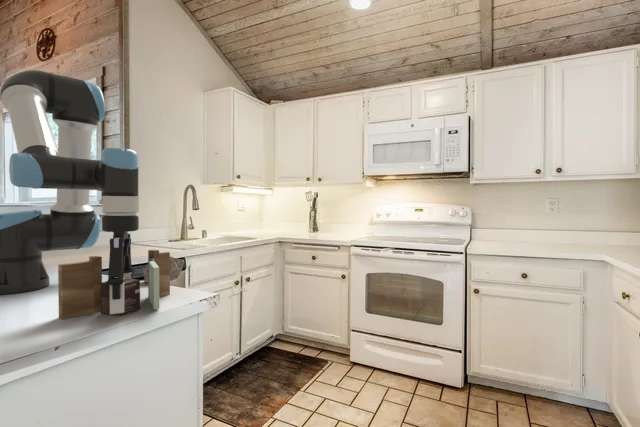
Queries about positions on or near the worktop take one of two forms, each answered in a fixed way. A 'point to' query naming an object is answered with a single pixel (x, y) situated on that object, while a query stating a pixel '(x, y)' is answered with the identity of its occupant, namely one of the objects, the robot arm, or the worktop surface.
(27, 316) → the worktop surface
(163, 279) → the partition
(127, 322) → the worktop surface
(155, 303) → the door
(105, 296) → the box
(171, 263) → the rock
